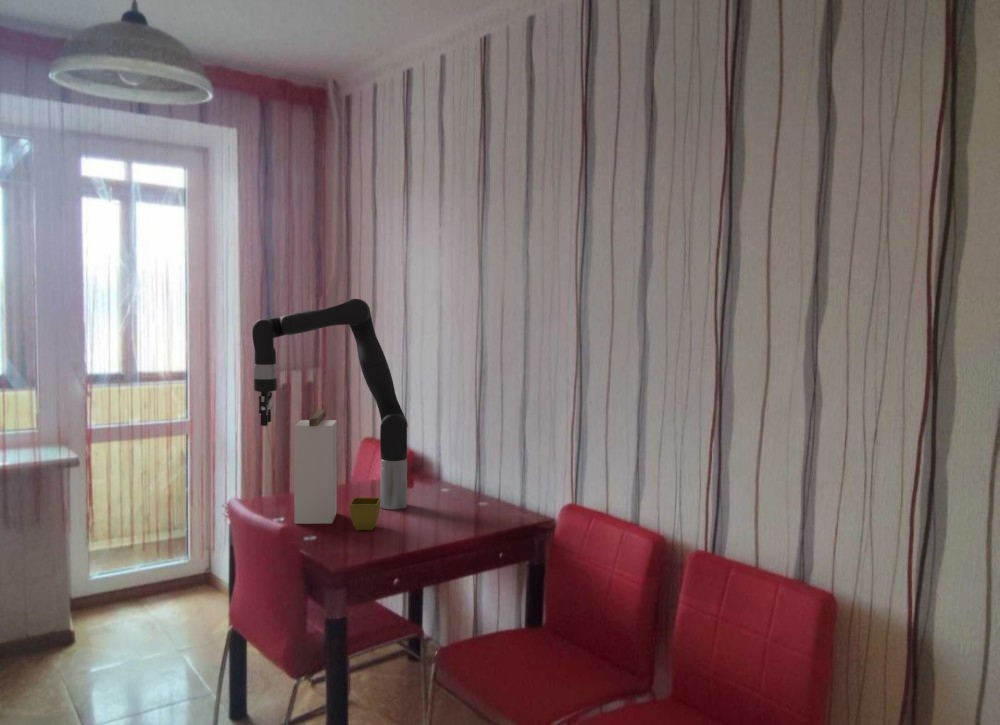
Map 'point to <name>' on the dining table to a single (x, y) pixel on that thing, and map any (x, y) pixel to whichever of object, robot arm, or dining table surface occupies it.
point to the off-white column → (315, 472)
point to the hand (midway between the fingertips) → (266, 423)
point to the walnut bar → (317, 418)
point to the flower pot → (364, 512)
